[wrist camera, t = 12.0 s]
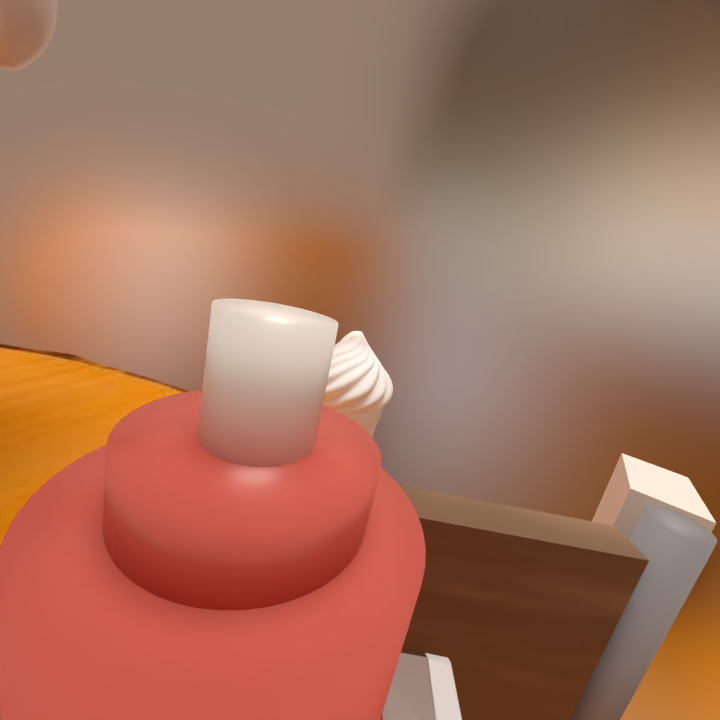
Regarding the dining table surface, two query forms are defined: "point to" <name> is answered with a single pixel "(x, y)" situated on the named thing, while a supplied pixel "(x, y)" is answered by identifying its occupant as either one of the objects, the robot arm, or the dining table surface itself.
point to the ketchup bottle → (216, 551)
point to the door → (518, 602)
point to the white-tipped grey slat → (647, 575)
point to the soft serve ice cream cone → (357, 382)
